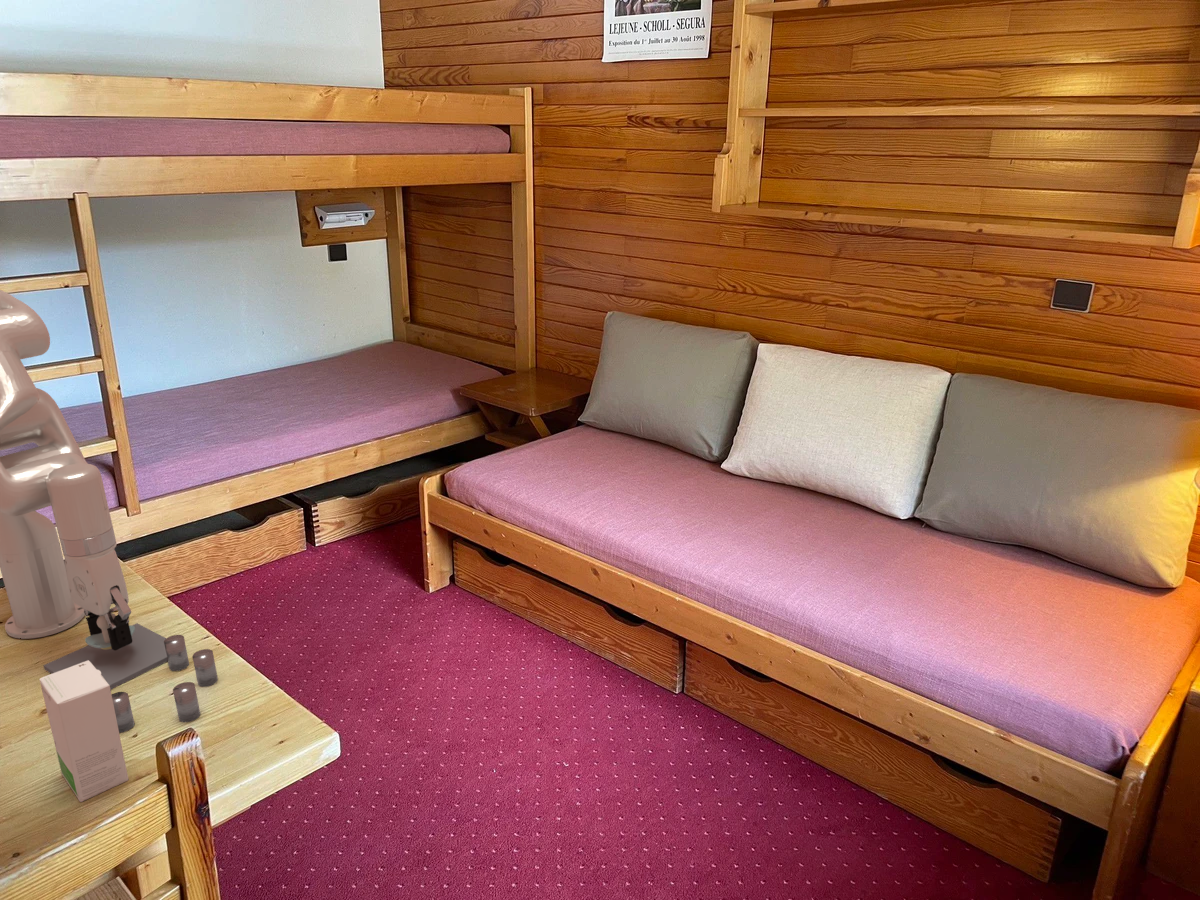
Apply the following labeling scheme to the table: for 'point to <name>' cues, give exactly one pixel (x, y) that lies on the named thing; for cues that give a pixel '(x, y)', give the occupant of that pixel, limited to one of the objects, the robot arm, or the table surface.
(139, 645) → the mat
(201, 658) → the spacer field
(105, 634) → the pacifier
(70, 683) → the skincare box
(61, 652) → the table surface
